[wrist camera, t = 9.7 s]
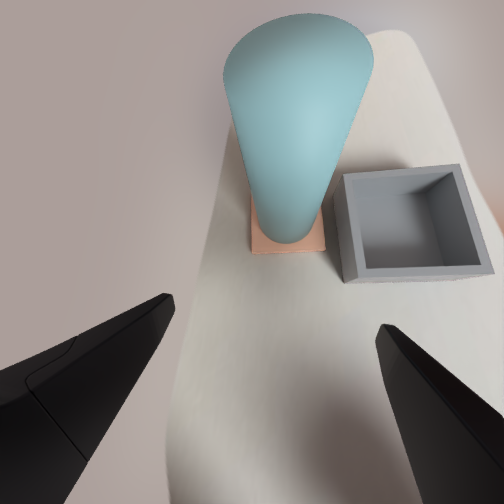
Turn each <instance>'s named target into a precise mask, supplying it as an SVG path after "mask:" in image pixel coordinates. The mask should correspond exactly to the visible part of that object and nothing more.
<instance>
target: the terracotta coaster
mask: <svg viewBox="0 0 504 504" xmlns="http://www.w3.org/2000/svg"><path fill="white" fill-rule="evenodd" d="M251 226H252V254H268V253H290V252H313V251H325V250H326V246H325V237H324V228H323V219H322V210H321V206H320V209H319V211H318V214H317V216H316V219H315V222H314V224H313V227H312V229H311V231H310V232H309V233H308V235H307V236H306V237H305V238H303V239H302V240H300V241H298V242H295V243H291V244H281V243H277V242H274V241H272V240H270V239H269V238H268V237H267V236H266V235H265V234H264V233H263V232H262V230H261V228H260V225H259V221H258V217H257V213H256V209H255V205H254V201H253V197H252V193H251Z"/></svg>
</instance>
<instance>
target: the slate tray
mask: <svg viewBox="0 0 504 504" xmlns="http://www.w3.org/2000/svg"><path fill="white" fill-rule="evenodd" d="M333 201H334V209H335V217H336V225H337V233H338V241H339V248H340V256H341V264H342V272H343V280H344V284H345V283H384V282H423V281H454V280H460V279H467V278H473V277H479V276H485V275H491V274H495V273H494V270H493V267H492V264H491V260H490V257H489V254H488V251H487V248H486V245H485V242H484V239H483V236H482V232H481V229H480V226H479V223H478V220H477V217H476V214H475V211H474V207H473V204H472V201H471V198H470V195H469V192H468V189H467V186H466V183H465V179H464V176H463V173H462V170H461V167H460V164H450V165H439V166H428V167H416V168H405V169H394V170H382V171H371V172H360V173H348V174H343V176H342V178H341V180H340V182H339V184H338V186H337V188H336V191H335V193H334V195H333Z"/></svg>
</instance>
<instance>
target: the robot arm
mask: <svg viewBox="0 0 504 504" xmlns="http://www.w3.org/2000/svg"><path fill="white" fill-rule="evenodd" d="M174 312H175V304H174V300H173V296H172V295H171V294H167V293H162V294H160V295H158V296H156V297H154V298H152V299H150V300H148V301H146V302H144V303H142V304H140V305H138V306H136V307H134V308H132V309H130V310H128V311H126V312H124V313H122V314H120V315H118V316H115V317H114V318H111V319H110V320H107V321H106V322H104V323H101V324H99V325H97V326H95V327H93V328H91V329H89V330H87V331H85V332H83V333H81V334H79V335H78V336H75V337H73V338H71V339H69V340H67V341H65V342H63V343H60V344H58V345H56V346H54V347H52V348H50V349H48V350H46V351H43V352H41V353H39V354H37V355H35V356H32V357H30V358H28V359H26V360H23V361H21V362H19V363H16V364H14V365H12V366H9V367H7V368H5V369H3V370H0V504H64V502H65V500H66V498H67V497H68V495H69V494H70V492H71V490H72V489H73V487H74V485H75V484H76V482H77V480H78V479H79V477H80V475H81V474H82V472H83V470H84V469H85V467H86V465H87V463H88V461H89V460H90V458H91V457H92V455H93V453H94V452H95V450H96V448H97V447H98V445H99V443H100V442H101V440H102V438H103V437H104V435H105V433H106V432H107V430H108V429H109V427H110V425H111V423H112V422H113V420H114V419H115V417H116V415H117V414H118V412H119V410H120V409H121V407H122V405H123V404H124V402H125V400H126V399H127V397H128V395H129V393H130V392H131V390H132V389H133V387H134V385H135V384H136V382H137V380H138V378H139V377H140V375H141V374H142V372H143V370H144V369H145V367H146V365H147V364H148V362H149V360H150V358H151V357H152V355H153V354H154V352H155V350H156V349H157V347H158V345H159V343H160V342H161V340H162V338H163V336H164V333H165V331H166V329H167V327H168V325H169V323H170V321H171V319H172V317H173V315H174ZM375 343H376V348H377V353H378V358H379V362H380V367H381V372H382V377H383V381H384V385H385V388H386V391H387V394H388V398H389V401H390V404H391V407H392V410H393V413H394V416H395V419H396V422H397V425H398V428H399V431H400V434H401V437H402V440H403V444H404V447H405V450H406V453H407V456H408V459H409V462H410V465H411V468H412V471H413V474H414V477H415V480H416V483H417V486H418V490H419V493H420V496H421V499H422V502H423V504H504V418H503V416H502V415H501V414H500V413H499V412H497V411H496V410H495V409H494V408H493V407H491V406H490V405H489V404H488V403H487V402H485V401H484V400H483V399H482V398H481V397H479V396H478V395H477V394H476V393H475V392H473V391H472V390H471V389H470V388H469V387H467V386H466V385H465V384H464V383H463V382H461V381H460V380H459V379H458V378H457V377H456V376H454V375H453V374H452V373H451V372H450V371H448V370H447V369H446V368H445V367H444V366H442V365H441V364H440V363H439V362H438V361H436V360H435V359H434V358H433V357H432V356H430V355H429V354H428V353H427V352H426V351H424V350H423V349H422V348H421V347H420V346H418V345H417V344H416V343H415V342H414V341H412V340H411V339H410V338H409V337H408V336H406V335H405V334H404V333H403V332H402V331H400V330H399V329H398V328H397V327H396V326H394V325H389V324H382V325H381V326H380V329H379V331H378V334H377V336H376V340H375Z"/></svg>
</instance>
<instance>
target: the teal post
mask: <svg viewBox="0 0 504 504" xmlns="http://www.w3.org/2000/svg"><path fill="white" fill-rule="evenodd" d="M373 62H374V57H373V51H372V48H371V45H370V43H369V41H368V39H367V38H366V37H365V35H364V34H363V33H362V32H361V31H360V30H358V28H356V27H355V26H353V25H352V24H350V23H348V22H346V21H344V20H342V19H339V18H336V17H333V16H329V15H322V14H309V13H308V14H296V15H289V16H285V17H281V18H278V19H275V20H272V21H269V22H267V23H265V24H263V25H261V26H259V27H257V28H255V29H254V30H252V31H251V32H249V33H248V34H247V35H245V36H244V37H243V38H242V39H241V40H240V41H239V42H238V43H237V44H236V46H235V47H234V48H233V49H232V51H231V52H230V54H229V56H228V58H227V60H226V63H225V66H224V72H223V80H224V86H225V90H226V93H227V98H228V101H229V105H230V110H231V113H232V118H233V121H234V125H235V129H236V133H237V137H238V141H239V145H240V149H241V153H242V157H243V161H244V165H245V169H246V173H247V177H248V181H249V185H250V189H251V193H252V197H253V201H254V205H255V209H256V213H257V217H258V221H259V225H260V228H261V230H262V232H263V233H264V234H265V235H266V236H267V237H268V238H269V239H270V240H272V241H274V242H277V243H281V244H291V243H295V242H298V241H300V240H302V239H303V238H305V237H306V236H307V235H308V233H309V232H310V231H311V229H312V227H313V224H314V222H315V219H316V216H317V214H318V211H319V209H320V206H321V203H322V201H323V198H324V196H325V193H326V190H327V188H328V185H329V183H330V180H331V177H332V175H333V172H334V170H335V167H336V164H337V162H338V159H339V157H340V154H341V151H342V149H343V146H344V144H345V141H346V138H347V136H348V133H349V131H350V128H351V126H352V123H353V120H354V118H355V115H356V113H357V110H358V107H359V105H360V102H361V100H362V97H363V94H364V92H365V89H366V87H367V84H368V81H369V79H370V76H371V73H372V69H373Z"/></svg>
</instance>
